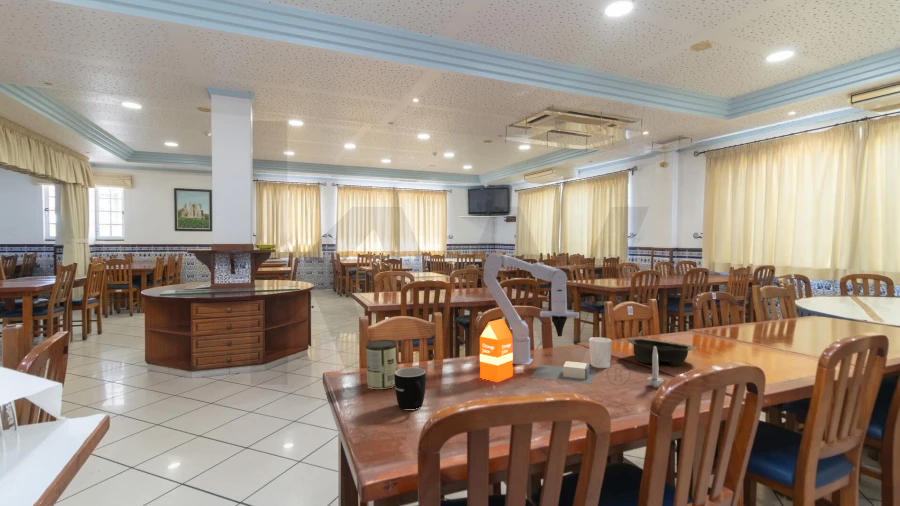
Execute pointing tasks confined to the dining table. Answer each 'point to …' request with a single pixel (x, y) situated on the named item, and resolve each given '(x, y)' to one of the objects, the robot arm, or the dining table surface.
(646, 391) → the dining table surface
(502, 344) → the orange juice
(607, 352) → the white cup
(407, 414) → the dining table surface
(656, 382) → the screw
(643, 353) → the stone bowl
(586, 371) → the beige rectangular block
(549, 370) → the mat
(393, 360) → the coffee can
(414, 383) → the mug
